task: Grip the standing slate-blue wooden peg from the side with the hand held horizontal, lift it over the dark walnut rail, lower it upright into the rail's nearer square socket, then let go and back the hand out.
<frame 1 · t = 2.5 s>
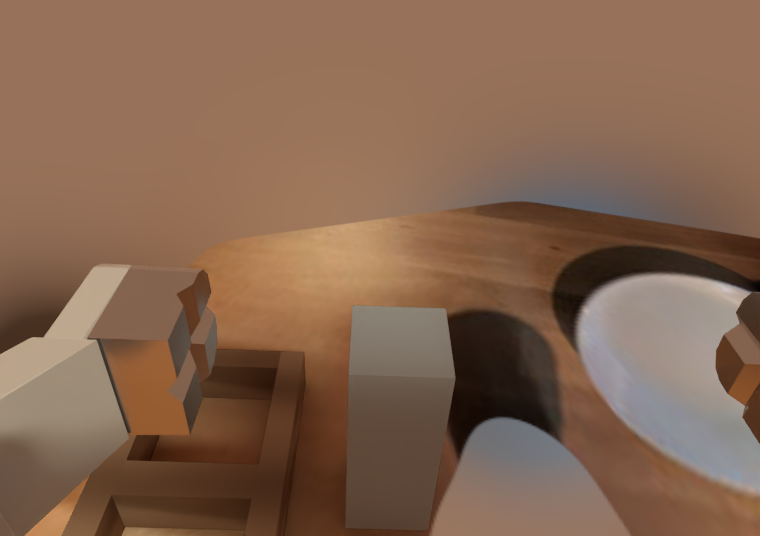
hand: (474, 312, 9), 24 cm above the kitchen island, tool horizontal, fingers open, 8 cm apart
peg: (386, 491, 33), on the kitchen island
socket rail: (195, 511, 31), on the kitchen island
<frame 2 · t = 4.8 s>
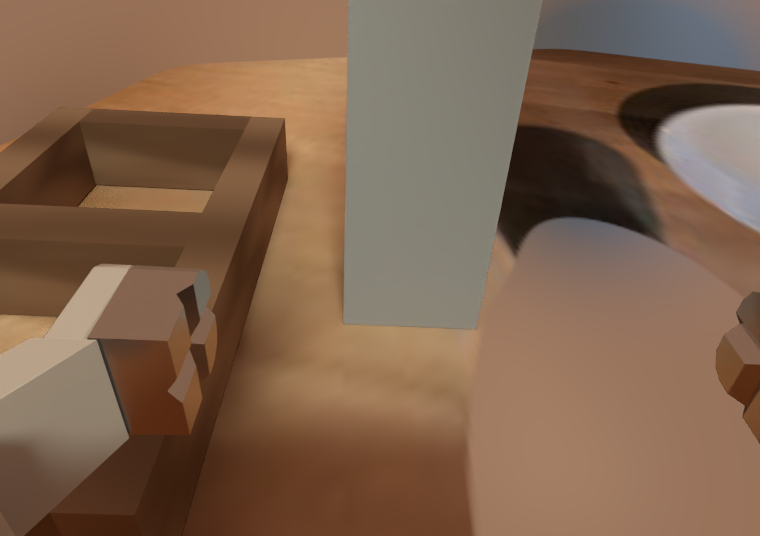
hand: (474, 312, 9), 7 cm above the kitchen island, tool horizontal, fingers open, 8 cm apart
peg: (407, 285, 21), on the kitchen island
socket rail: (103, 298, 19), on the kitchen island
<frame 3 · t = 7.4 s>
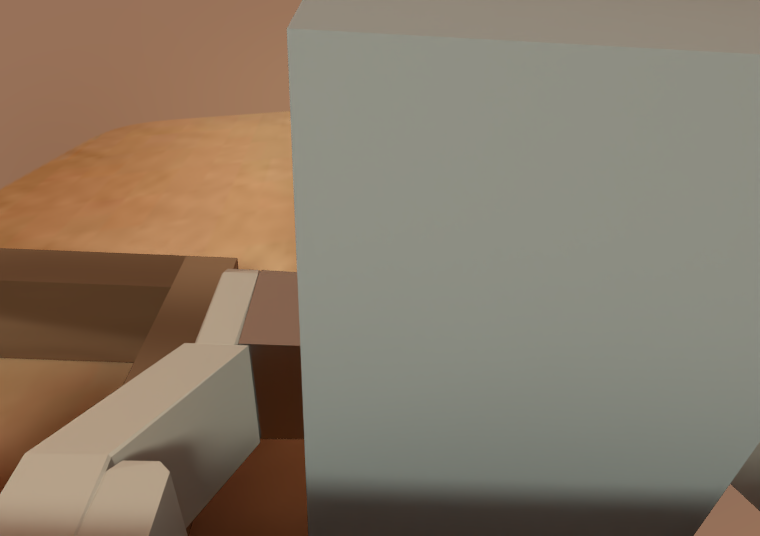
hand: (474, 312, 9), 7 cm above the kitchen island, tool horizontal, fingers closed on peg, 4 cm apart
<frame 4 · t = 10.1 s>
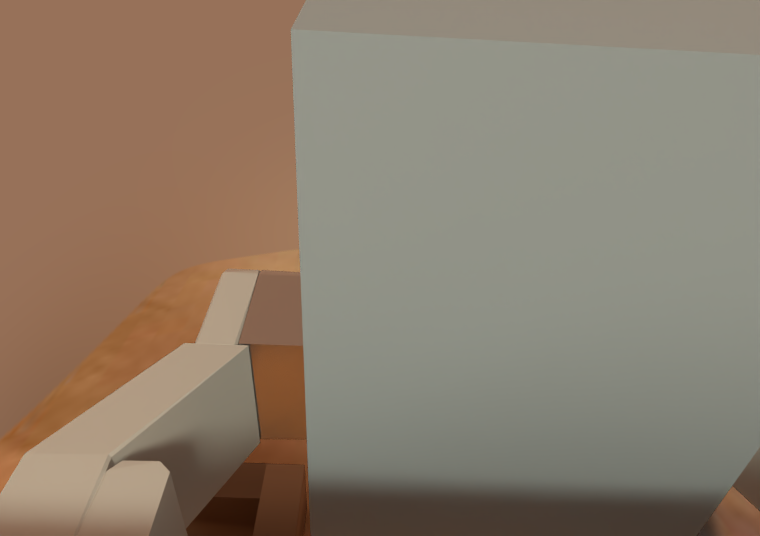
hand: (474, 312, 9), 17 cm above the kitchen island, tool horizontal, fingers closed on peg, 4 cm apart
when the fingers open (9 cm above the kitchen island, at t = 13.2 s): peg drops 1 cm, resting in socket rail.
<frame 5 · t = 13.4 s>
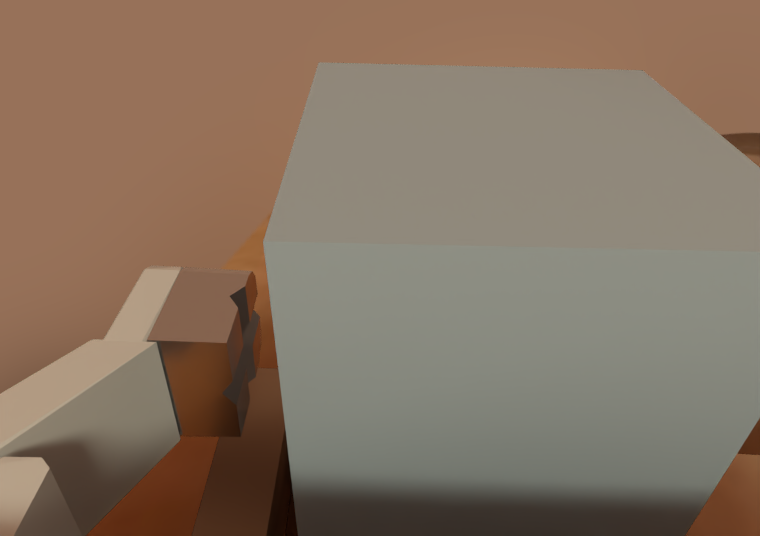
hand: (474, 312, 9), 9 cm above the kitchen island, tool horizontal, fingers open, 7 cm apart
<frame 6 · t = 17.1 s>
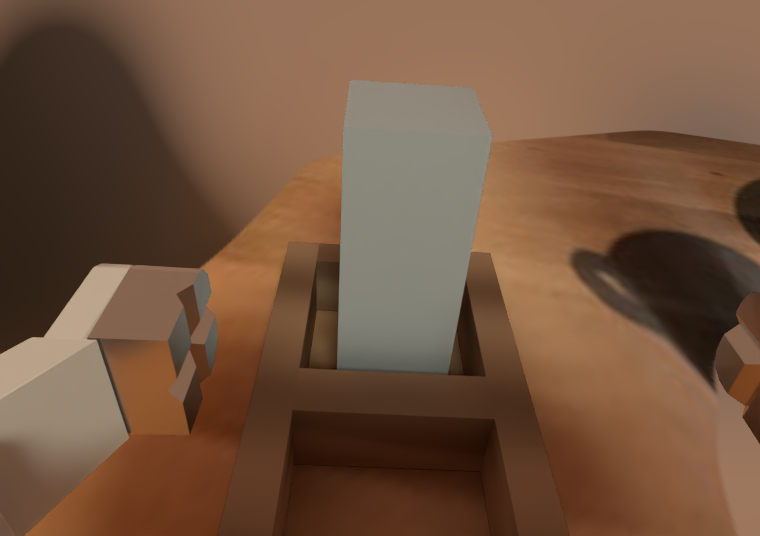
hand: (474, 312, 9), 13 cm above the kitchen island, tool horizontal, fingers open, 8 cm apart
peg: (388, 363, 26), resting in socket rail
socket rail: (387, 445, 22), on the kitchen island
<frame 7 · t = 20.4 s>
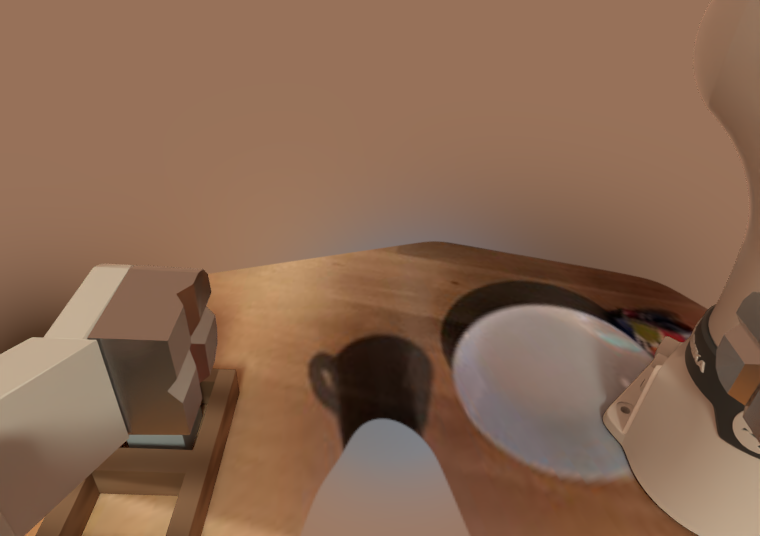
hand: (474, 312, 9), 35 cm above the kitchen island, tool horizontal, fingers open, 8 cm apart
peg: (169, 435, 48), resting in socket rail
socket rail: (150, 483, 44), on the kitchen island
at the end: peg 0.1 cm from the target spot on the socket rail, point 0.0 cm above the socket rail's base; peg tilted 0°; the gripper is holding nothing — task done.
